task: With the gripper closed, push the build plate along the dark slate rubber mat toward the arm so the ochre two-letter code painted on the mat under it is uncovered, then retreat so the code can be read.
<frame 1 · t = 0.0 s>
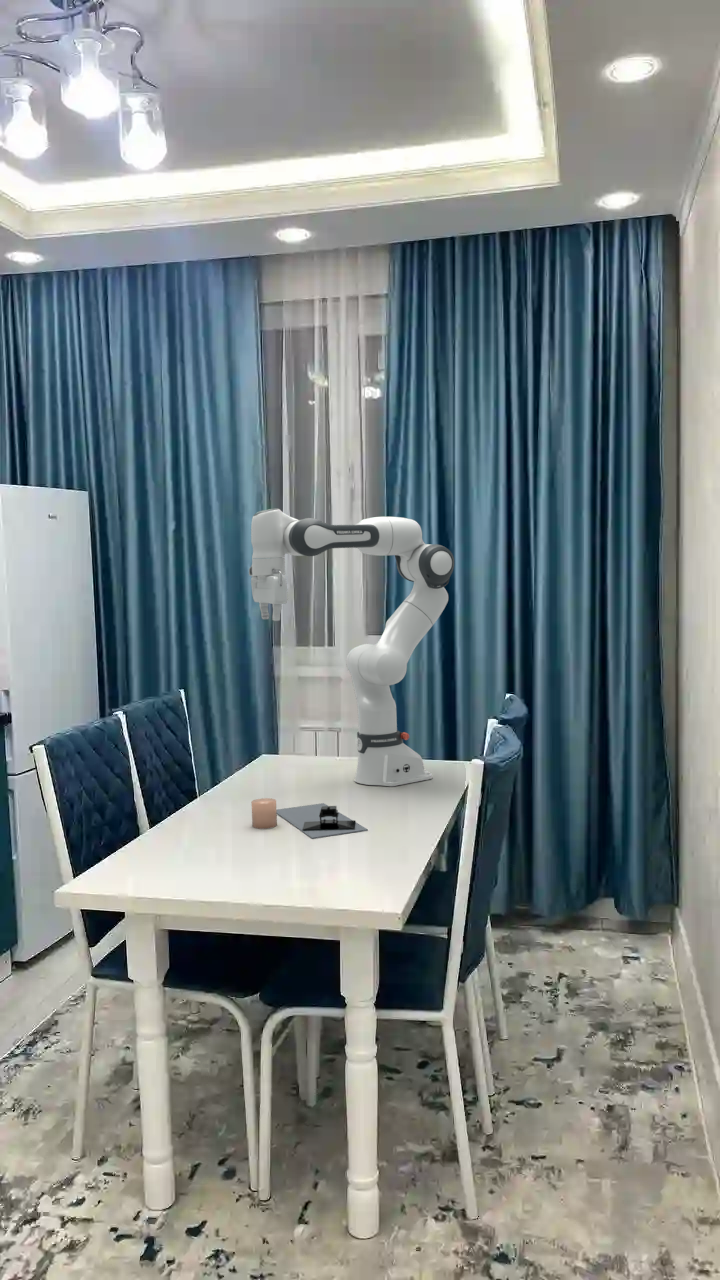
hand: (270, 619, 273), 48 cm above the table, fingers open, 8 cm apart
code mat: (318, 820, 247), on the table
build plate: (329, 827, 240), on the table, touching code mat
peach rounded cylinder: (264, 825, 244), on the table
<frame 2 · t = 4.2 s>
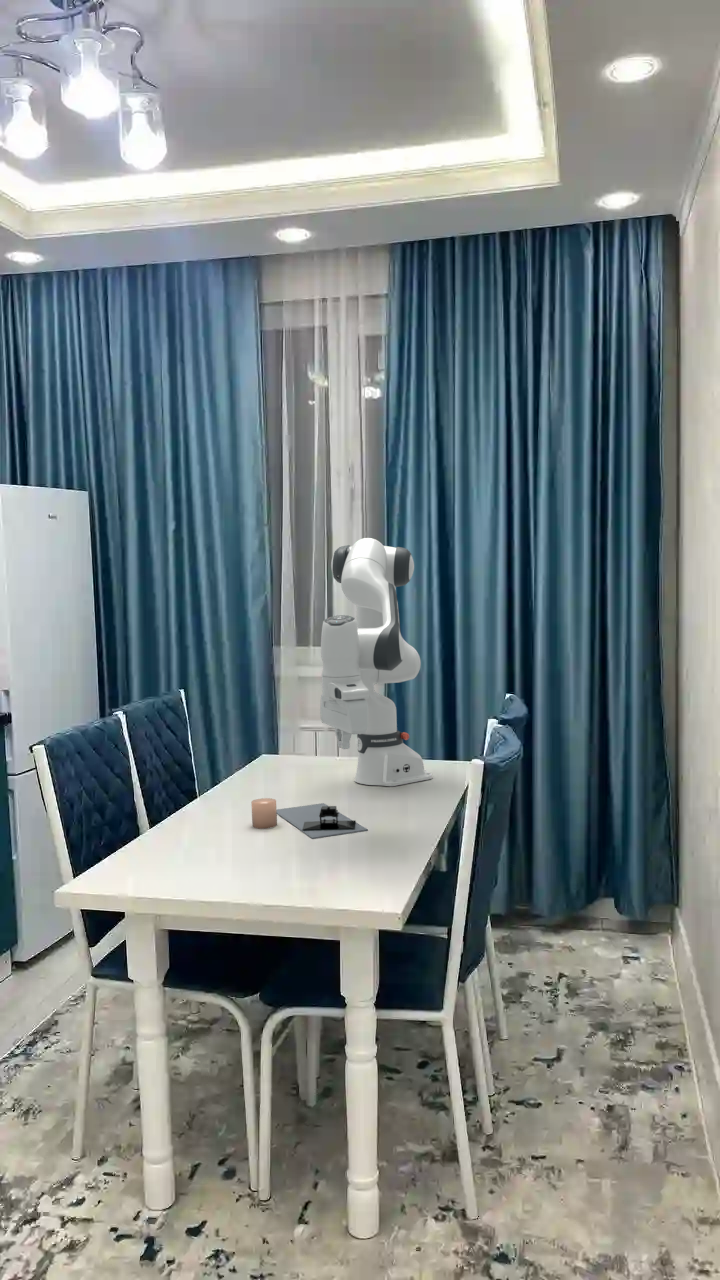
hand: (343, 748, 228), 21 cm above the table, fingers closed
nothing on the table moved.
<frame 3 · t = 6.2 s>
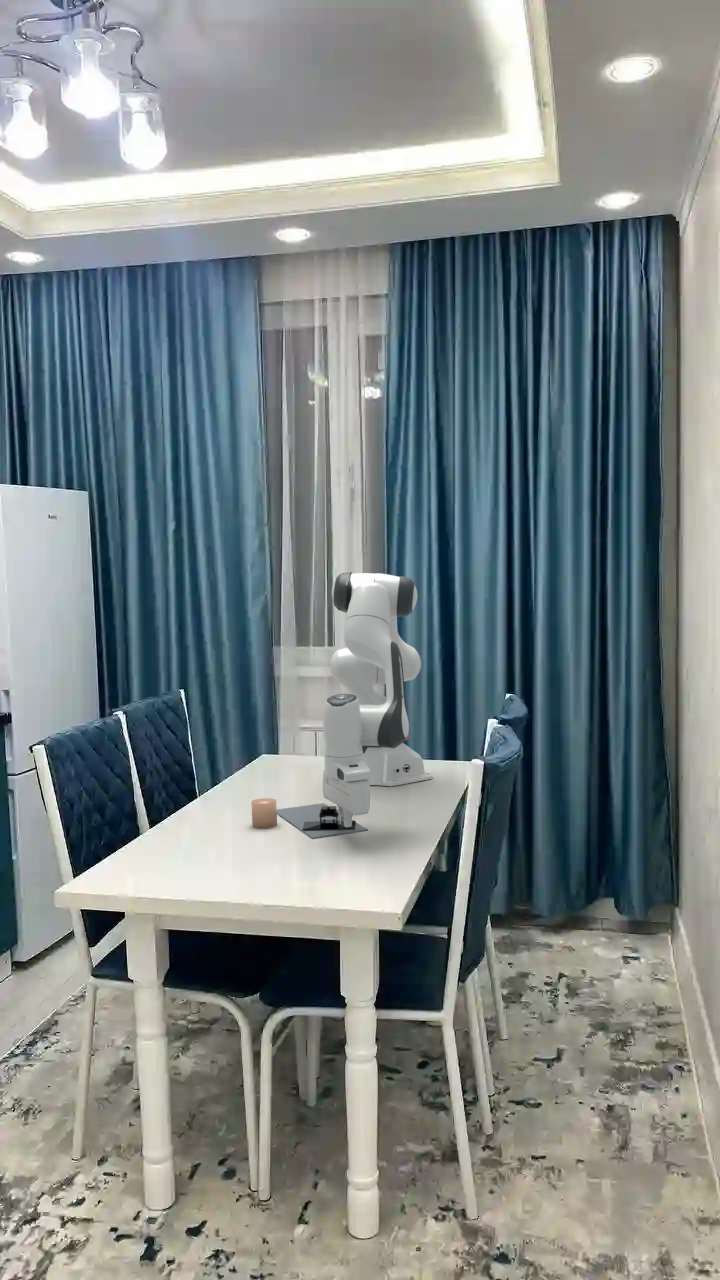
hand: (346, 825, 230), 3 cm above the table, fingers closed
nothing on the table moved.
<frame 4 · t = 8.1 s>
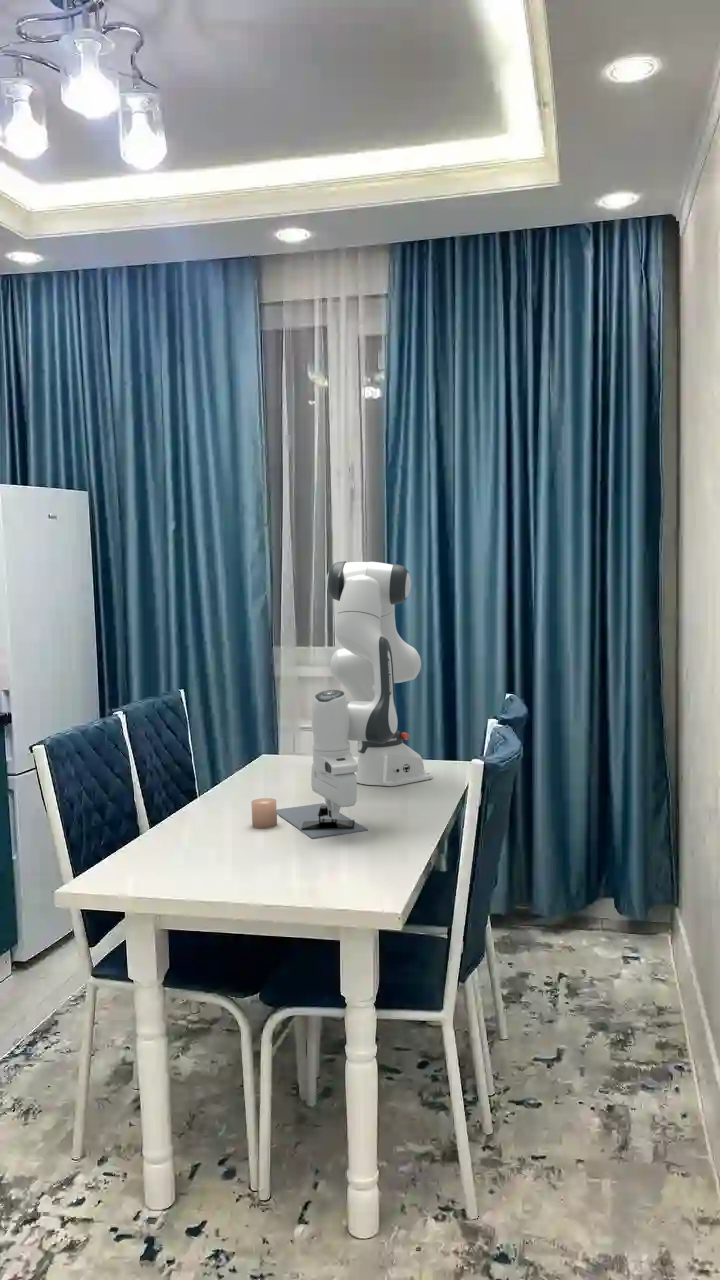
hand: (333, 817, 237), 3 cm above the table, fingers closed
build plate: (328, 826, 241), on the table, touching gripper
everything else where it was.
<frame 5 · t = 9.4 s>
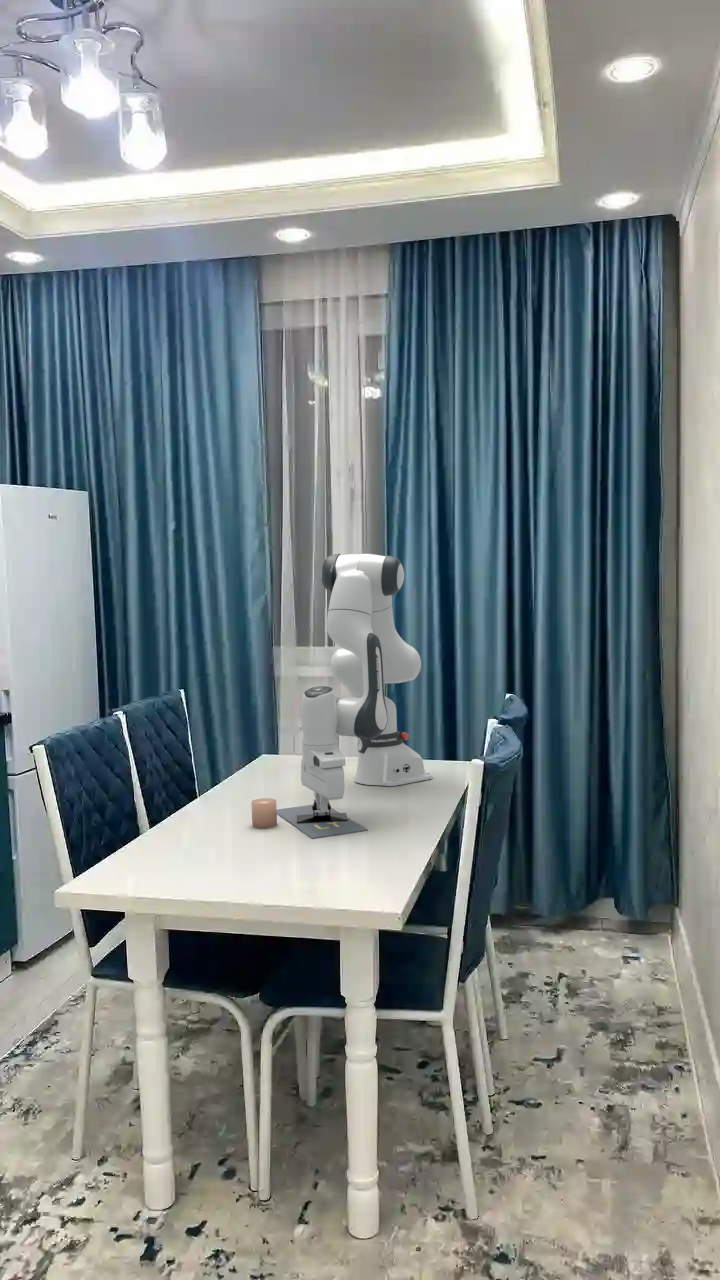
hand: (322, 810, 244), 3 cm above the table, fingers closed
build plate: (322, 819, 247), on the table, touching code mat, gripper
everything else where it was.
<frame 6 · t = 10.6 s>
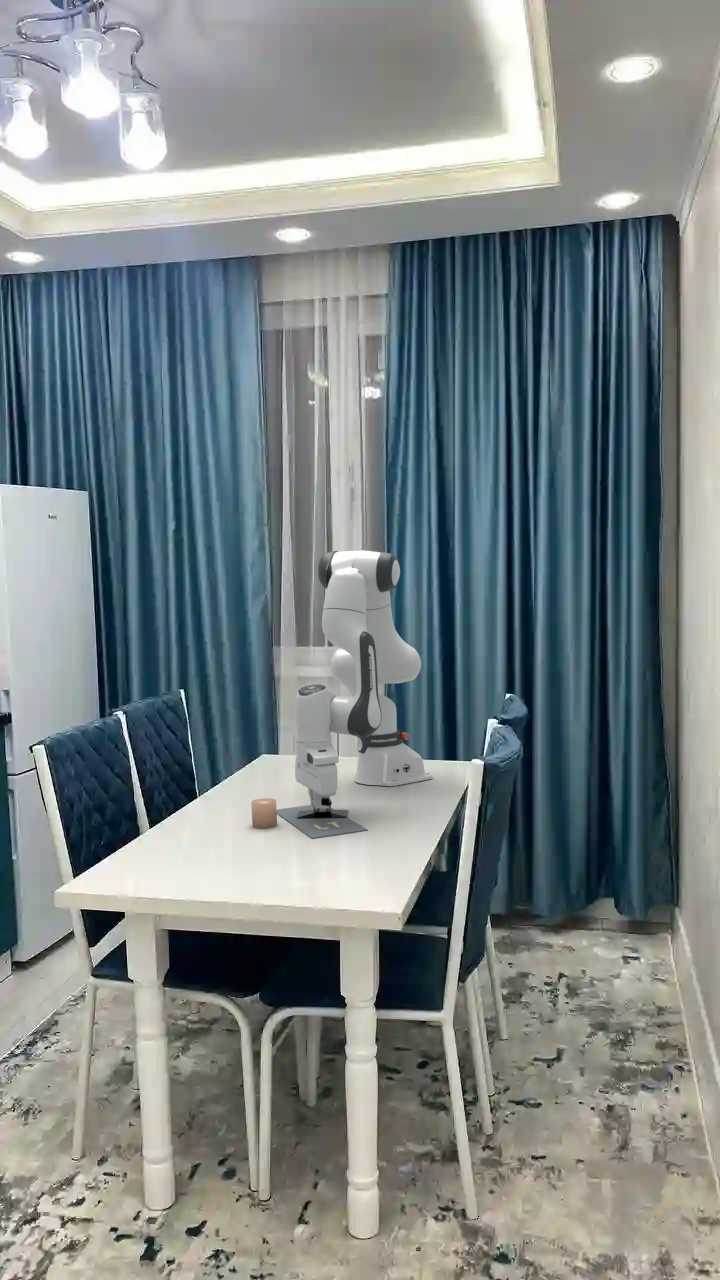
hand: (316, 806, 248), 3 cm above the table, fingers closed
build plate: (322, 815, 251), on the table, touching code mat, gripper
everything else where it was.
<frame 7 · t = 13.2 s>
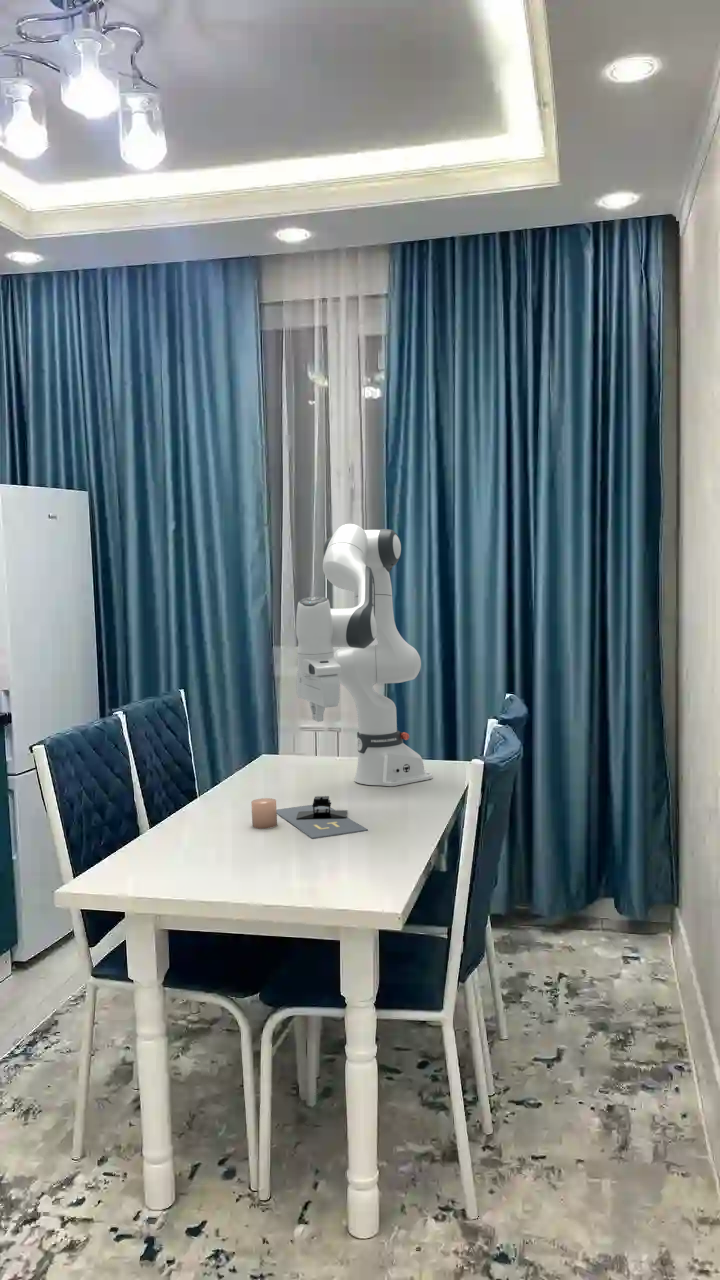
hand: (317, 720, 244), 25 cm above the table, fingers closed
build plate: (322, 816, 250), on the table, touching code mat
everything else where it was.
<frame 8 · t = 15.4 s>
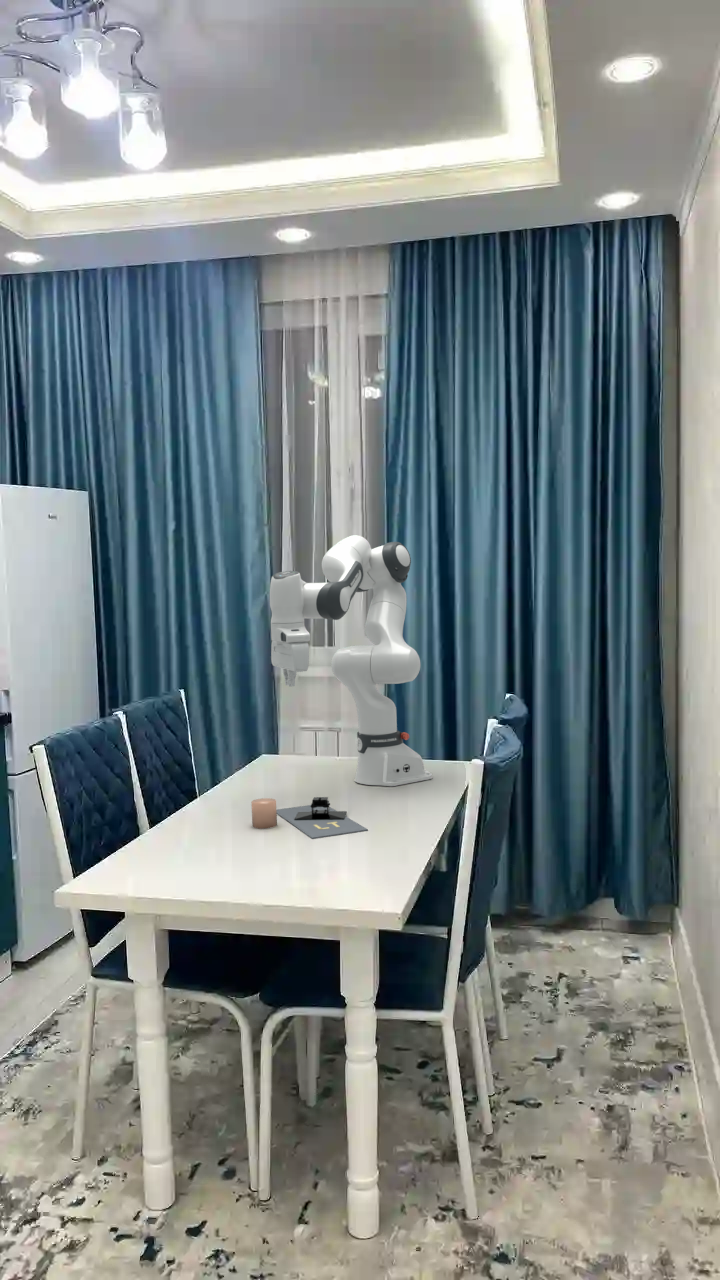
hand: (290, 685, 264), 31 cm above the table, fingers closed
at the end: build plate inside the target area (4.2 cm from its centre), on the table; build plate moved 9.9 cm from its start; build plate tilted 1° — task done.
